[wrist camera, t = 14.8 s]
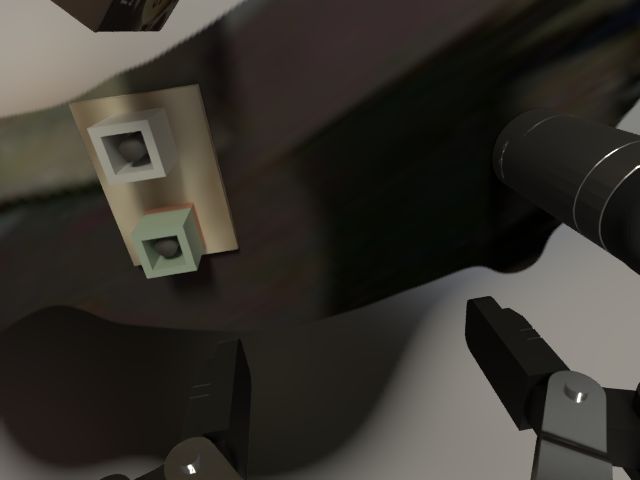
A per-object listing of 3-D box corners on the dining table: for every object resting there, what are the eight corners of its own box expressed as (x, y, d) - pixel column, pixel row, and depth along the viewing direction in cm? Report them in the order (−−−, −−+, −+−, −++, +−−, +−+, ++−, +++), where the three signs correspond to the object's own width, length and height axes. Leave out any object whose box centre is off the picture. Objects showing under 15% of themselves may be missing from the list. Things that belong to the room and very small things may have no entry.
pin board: (198, 83, 39) (186, 92, 34) (238, 244, 48) (234, 271, 42) (73, 102, 39) (41, 114, 33) (137, 260, 47) (120, 290, 42)
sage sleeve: (193, 202, 43) (182, 226, 38) (205, 242, 46) (197, 270, 40) (147, 209, 43) (129, 234, 38) (161, 249, 46) (147, 278, 40)
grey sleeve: (164, 107, 39) (147, 119, 33) (179, 157, 41) (165, 176, 36) (112, 114, 38) (86, 128, 33) (130, 165, 41) (109, 185, 36)
